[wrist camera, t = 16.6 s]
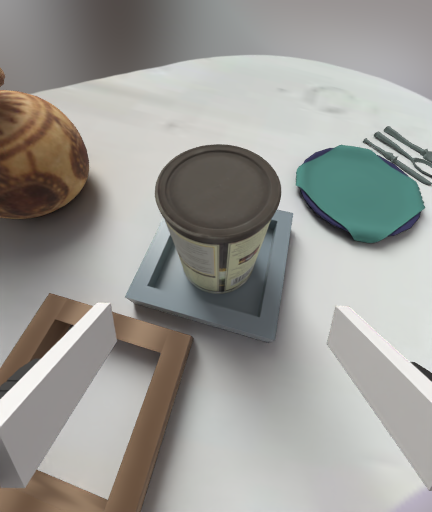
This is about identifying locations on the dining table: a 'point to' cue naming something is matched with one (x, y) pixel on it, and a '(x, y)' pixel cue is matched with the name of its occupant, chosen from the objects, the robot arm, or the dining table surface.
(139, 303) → the tray
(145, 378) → the dining table surface
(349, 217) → the cutlery set
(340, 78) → the dining table surface
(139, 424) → the wooden square frame
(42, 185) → the clay pot
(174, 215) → the coffee can
